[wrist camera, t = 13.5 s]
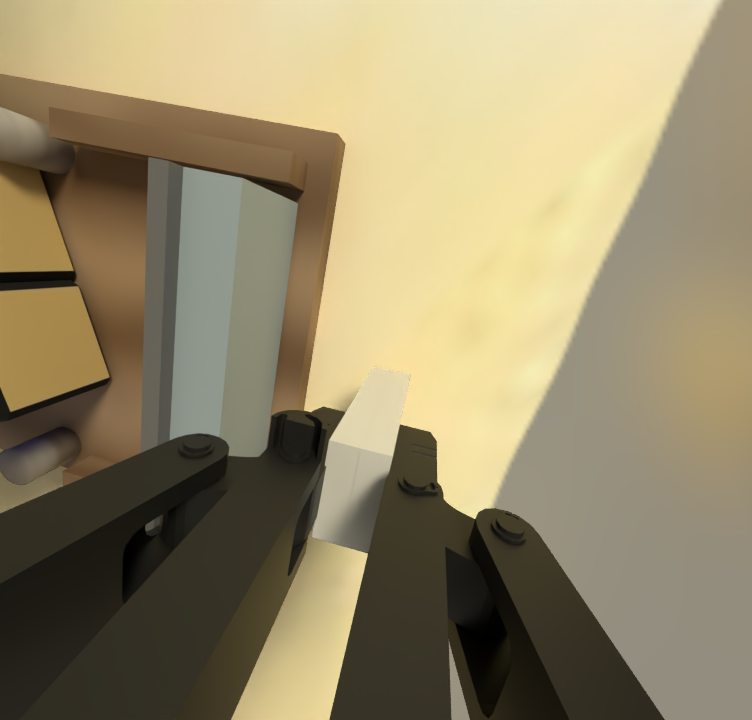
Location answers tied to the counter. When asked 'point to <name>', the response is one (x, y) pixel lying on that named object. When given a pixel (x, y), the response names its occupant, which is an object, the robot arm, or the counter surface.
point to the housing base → (128, 244)
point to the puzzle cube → (39, 304)
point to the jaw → (212, 306)
